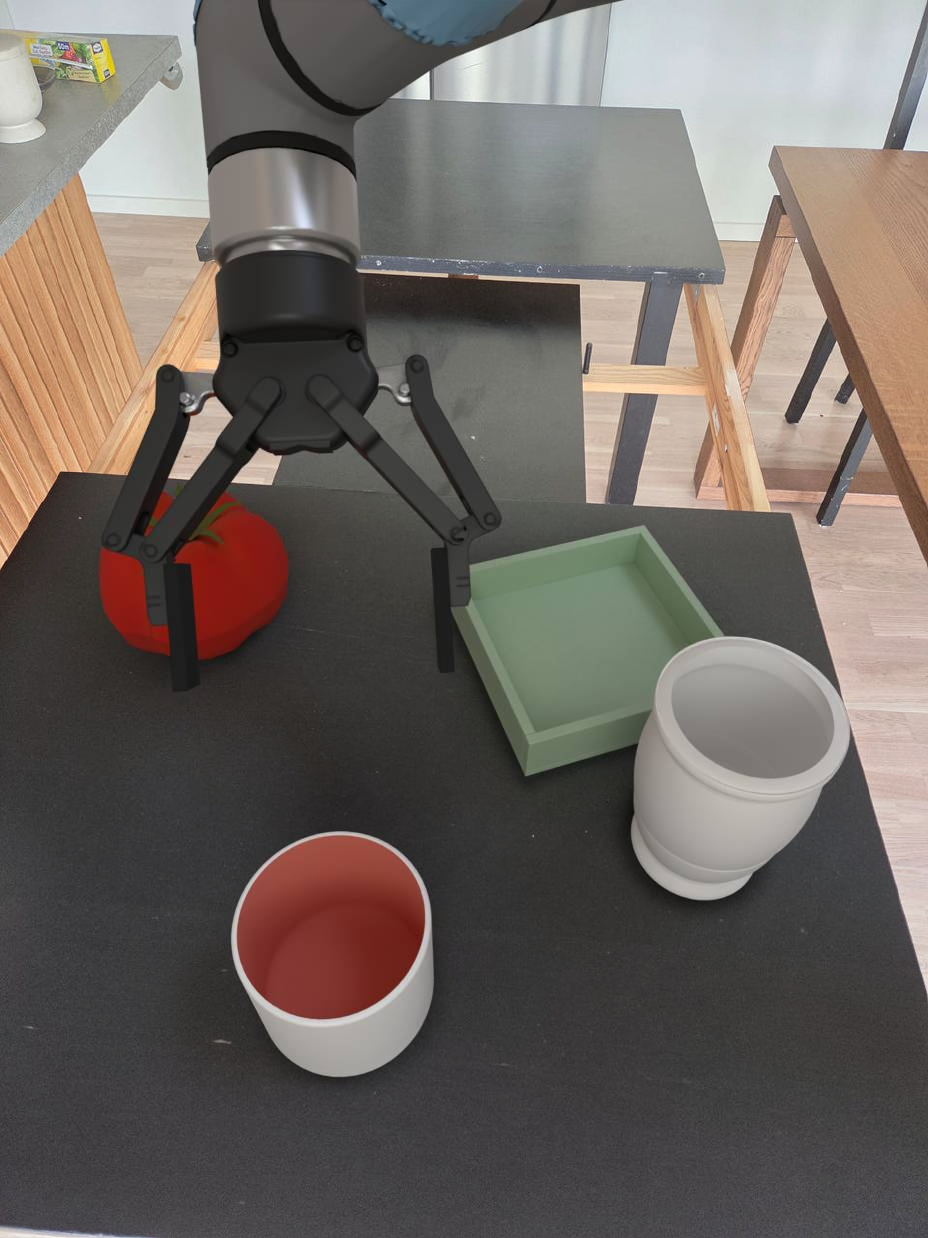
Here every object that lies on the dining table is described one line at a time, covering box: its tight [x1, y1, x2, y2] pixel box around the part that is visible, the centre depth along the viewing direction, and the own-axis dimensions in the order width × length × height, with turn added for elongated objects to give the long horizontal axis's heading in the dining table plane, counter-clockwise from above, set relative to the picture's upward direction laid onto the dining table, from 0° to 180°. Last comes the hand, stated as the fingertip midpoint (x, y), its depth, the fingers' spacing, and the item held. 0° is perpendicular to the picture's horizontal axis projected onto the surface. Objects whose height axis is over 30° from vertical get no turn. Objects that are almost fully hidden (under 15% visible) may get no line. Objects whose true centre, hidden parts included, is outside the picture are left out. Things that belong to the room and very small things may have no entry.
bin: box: [451, 524, 726, 777], centre depth 66 cm, size 18×18×4 cm
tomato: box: [98, 480, 290, 661], centre depth 65 cm, size 13×14×12 cm
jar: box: [630, 636, 851, 901], centre depth 51 cm, size 11×10×15 cm
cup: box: [230, 830, 435, 1078], centre depth 46 cm, size 10×10×10 cm
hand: (318, 679), depth 45 cm, fingers open, 13 cm apart
